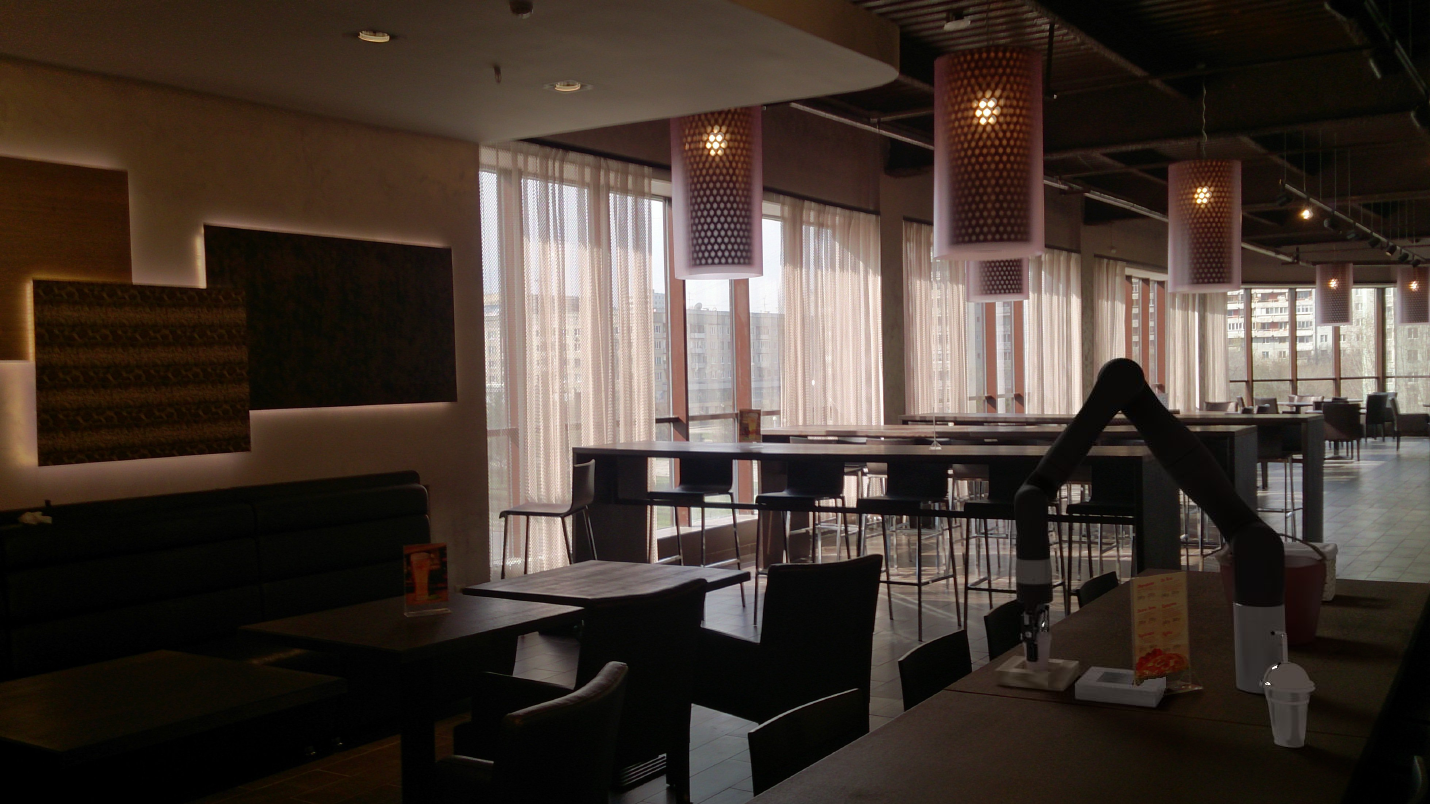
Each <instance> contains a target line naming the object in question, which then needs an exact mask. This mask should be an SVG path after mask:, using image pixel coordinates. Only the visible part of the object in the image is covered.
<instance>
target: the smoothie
mask: <svg viewBox="0 0 1430 804" xmlns="http://www.w3.org/2000/svg"><path fill="white" fill-rule="evenodd" d="M1029 637H1031V633H1030V634H1029ZM1020 640H1021V641H1022V633H1020ZM1052 640H1053V637H1052V634H1051V633H1050V632H1041V633H1040V634H1039V635H1038V661H1037V662H1028V661H1027V650H1026V644H1025V642H1022V643H1023V644H1022V645H1023V646H1022V647H1023V651H1024V656H1025V658H1026V664H1027V670H1037V671H1048V663H1049V659H1050V652H1051V651H1050V649H1051V641H1052Z"/></svg>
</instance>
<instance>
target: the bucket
mask: <svg viewBox="0 0 1430 804" xmlns="http://www.w3.org/2000/svg"><path fill="white" fill-rule="evenodd" d="M1277 533H1278V534H1279V536H1280V537H1284V538H1286V539H1287V538H1288V539H1291V540H1294V541H1295V542H1300V543H1302V544H1305V545H1307V546H1310V547H1311V548H1312V549H1313V550H1314V551H1315V552H1316V553H1317V554H1318V555H1319V556H1320V558H1319V559H1315V558H1312V557H1309V556H1296V555H1285V594H1284V607H1285V633H1286V635H1287V646H1298V645H1299V646H1300V645H1303V644H1307V643H1312V642H1315V640H1316V635H1317V631H1318V630H1317V629H1318V624H1319V619H1320V615H1321V608H1322V602H1323V601H1322V598H1323V593H1324V588H1325V582H1326V577H1327V570H1326V563H1325V561H1326V560H1327V556H1326V555H1325V554H1324V553H1323V552H1322V551H1321V550H1320V549H1319V548H1318V547H1316V546H1315V545H1312V544H1310V543H1311V542H1310V543H1308V542H1309V541H1308V542H1307V541H1305V540H1304V539H1301V538H1298V537H1296V536H1291V535H1289V534H1286V533H1283V532H1282V533H1281V532H1277ZM1231 553H1232V551H1231V549H1230V547H1229V546H1228V544H1227V542H1226V541H1225V545H1224V546H1223V549H1221V550H1218V552H1217V553H1215V554H1214V558H1215V559H1216V561H1217V563H1218V564H1219V573H1220V578H1221V582H1222V587H1223V591H1224V595H1225V599H1226V602H1227V608H1228V611H1229V616H1230V619H1231V624H1232V628H1233V629H1234V608H1233V602H1234V601H1233V587H1234V566H1233V554H1231Z"/></svg>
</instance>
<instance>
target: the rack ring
mask: <svg viewBox="0 0 1430 804" xmlns="http://www.w3.org/2000/svg"><path fill="white" fill-rule="evenodd" d="M1133 680H1134V671H1133V669H1124V668H1123V669H1122V668H1112V667H1104V666H1103V667H1102V666H1101V667H1100V666H1091V667H1090V668H1089V669H1088V670H1087V671H1086V672H1085V673H1084V674H1083V675H1081V677H1080V678H1079V679H1078V680H1077V681H1076V682H1075V683H1074V689H1075V690H1074V696H1075V698H1074V699H1075V700H1083V701H1092V702H1101V703H1109V704H1110V703H1111V704H1119V705H1120V704H1121V705H1131V706H1140V707H1141V706H1142V707H1149V708H1156V707H1157V706H1158V704H1159V703H1160V701H1161V700H1162V698H1163V697H1164V696H1163V694H1164V691H1165V688H1166V677H1163V678H1156V679H1148V680H1144V682H1143V683H1142V684H1141V685H1140V686H1137V685H1132V683H1133ZM1164 695H1165V694H1164Z"/></svg>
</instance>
